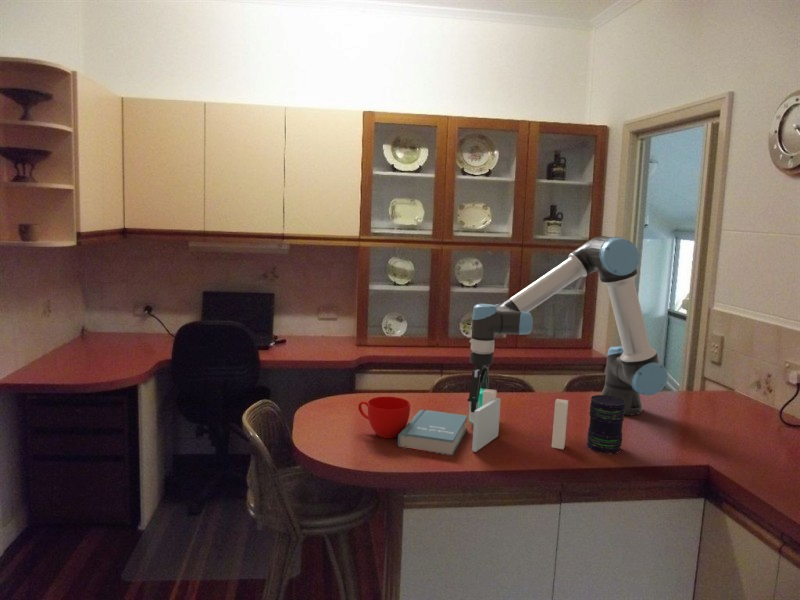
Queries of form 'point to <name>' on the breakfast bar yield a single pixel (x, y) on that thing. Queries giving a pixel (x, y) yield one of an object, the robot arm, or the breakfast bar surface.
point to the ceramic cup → (387, 415)
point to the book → (434, 432)
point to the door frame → (559, 418)
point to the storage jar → (606, 423)
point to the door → (485, 424)
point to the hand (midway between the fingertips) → (477, 415)
